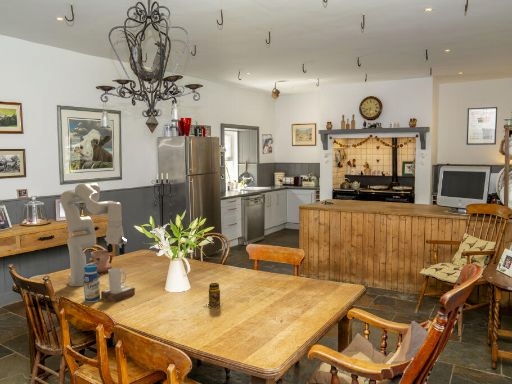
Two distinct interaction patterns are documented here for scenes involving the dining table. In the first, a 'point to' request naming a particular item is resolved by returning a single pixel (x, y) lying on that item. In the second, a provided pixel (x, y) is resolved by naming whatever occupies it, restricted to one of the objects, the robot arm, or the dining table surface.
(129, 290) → the walnut picture frame
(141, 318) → the dining table surface
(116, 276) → the mug
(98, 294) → the beverage bottle
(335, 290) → the dining table surface
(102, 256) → the ceramic jug
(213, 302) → the condiment
